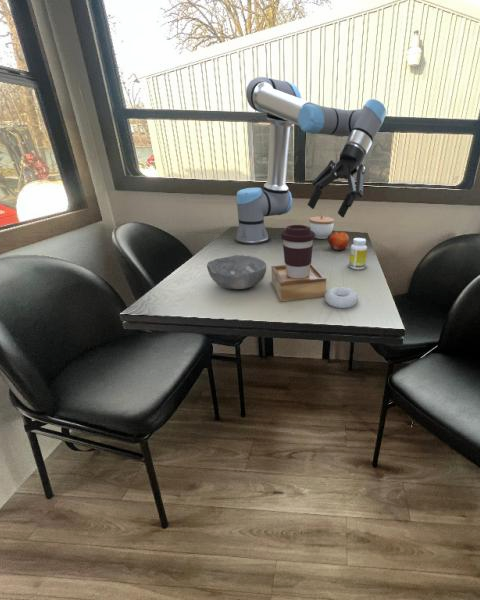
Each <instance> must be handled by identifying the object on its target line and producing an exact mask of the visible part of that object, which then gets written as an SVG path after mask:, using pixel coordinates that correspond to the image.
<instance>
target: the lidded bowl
mask: <svg viewBox="0 0 480 600" xmlns="http://www.w3.org/2000/svg"><path fill="white" fill-rule="evenodd" d="M308 220H309V228H310V230H311V231H313V232H314V233H315V239H323V240H324V239H329V237H330V236H331V235H332V234H333V230H334V226H335V225H334V224H335V219H334V218H332V217H329V216H324V214H320V216H312V217H309V219H308Z"/></svg>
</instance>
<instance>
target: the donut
mask: <svg viewBox="0 0 480 600" xmlns="http://www.w3.org/2000/svg"><path fill="white" fill-rule="evenodd" d="M323 297H324V301H325V302H326V303H327V304H328V305H329V306H331V307H333V308H338V309H349V308H352V307H353V306H355V305H356V304H357V303H358V301H359V297H358V293H357V292H356V291H355V290H354V289H352V288H349V287H344V286H334V287H331V288H329V289H326V293H325V296H323Z"/></svg>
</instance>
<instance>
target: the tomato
mask: <svg viewBox="0 0 480 600" xmlns="http://www.w3.org/2000/svg"><path fill="white" fill-rule="evenodd" d="M349 242H350V237H349V235H348V234H347V233H346V232H344V231H342V230H339V231H335V232H332V233H331V234H330V235H329V236H328V244H329V246H330V247H331V248H332V249H334V250H336V251H341V250H345V249H346V248H347V247H348V245H349Z"/></svg>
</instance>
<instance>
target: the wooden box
mask: <svg viewBox="0 0 480 600" xmlns="http://www.w3.org/2000/svg"><path fill="white" fill-rule="evenodd" d="M270 268H271V269H270V271H271V284H272V286H273V288H274V290H275V292H276V294H277V296H278V299H279V300H280V302H288V301H289V302H290V301H297V300H306V299H313V298H323V297H325V293H326V291H327V278H326V276H325V275H324V274H323V273H322V272H321V271H320V270H319V269H318V268H317V267H316V266H315V264H314V263H313V262H311V264H310V273H309V276H308V277H306V278H302V279H294V278H290V277H288V276H287V274H286V264H281V265H271V267H270Z"/></svg>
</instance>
